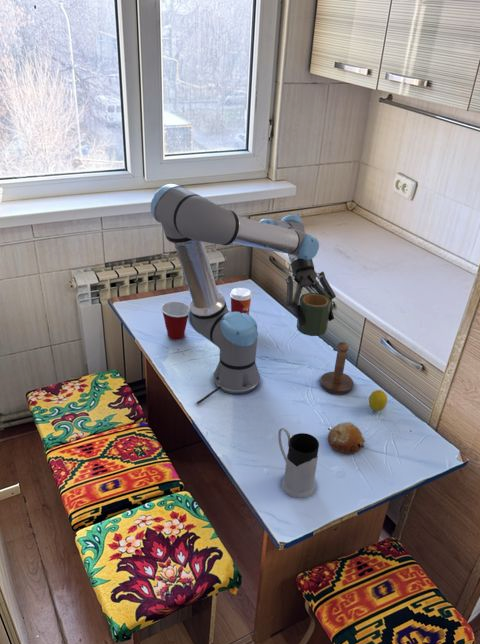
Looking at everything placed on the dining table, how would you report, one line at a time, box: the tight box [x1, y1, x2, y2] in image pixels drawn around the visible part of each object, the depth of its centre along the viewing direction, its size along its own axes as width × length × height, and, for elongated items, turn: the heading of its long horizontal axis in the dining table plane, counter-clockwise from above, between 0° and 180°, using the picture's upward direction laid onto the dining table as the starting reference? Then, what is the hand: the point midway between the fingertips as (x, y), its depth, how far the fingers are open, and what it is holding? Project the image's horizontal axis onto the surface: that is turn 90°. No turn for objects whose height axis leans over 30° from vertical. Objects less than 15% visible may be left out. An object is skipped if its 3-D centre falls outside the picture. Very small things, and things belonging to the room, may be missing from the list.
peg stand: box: [319, 341, 354, 396], centre depth 184 cm, size 11×11×17 cm
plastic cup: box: [160, 300, 190, 341], centre depth 204 cm, size 11×11×12 cm
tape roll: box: [296, 292, 331, 337], centre depth 188 cm, size 10×10×11 cm
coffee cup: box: [229, 287, 253, 316], centre depth 212 cm, size 8×8×15 cm
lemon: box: [368, 389, 388, 412], centre depth 176 cm, size 6×6×8 cm
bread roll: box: [327, 421, 366, 455], centre depth 163 cm, size 10×10×8 cm
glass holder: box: [277, 427, 320, 499], centre depth 147 cm, size 9×14×15 cm, turn 36°
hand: (317, 322), depth 187 cm, fingers closed on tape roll, 10 cm apart
